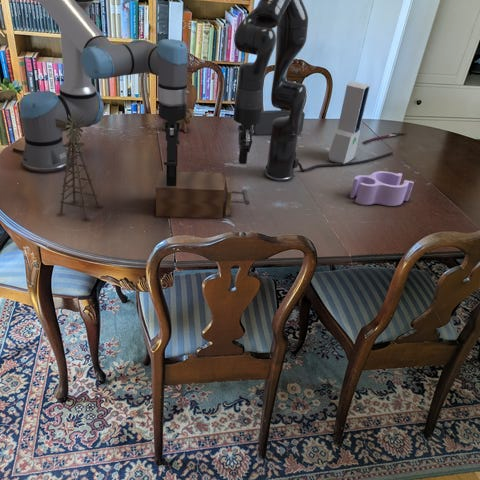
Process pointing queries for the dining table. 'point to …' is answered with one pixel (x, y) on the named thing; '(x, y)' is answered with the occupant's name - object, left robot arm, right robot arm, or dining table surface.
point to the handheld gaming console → (267, 119)
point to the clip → (381, 189)
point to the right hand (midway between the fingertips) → (242, 162)
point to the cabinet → (190, 195)
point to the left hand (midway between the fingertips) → (172, 175)
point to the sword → (383, 137)
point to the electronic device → (349, 123)
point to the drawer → (228, 196)
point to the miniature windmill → (73, 142)
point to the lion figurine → (183, 122)
